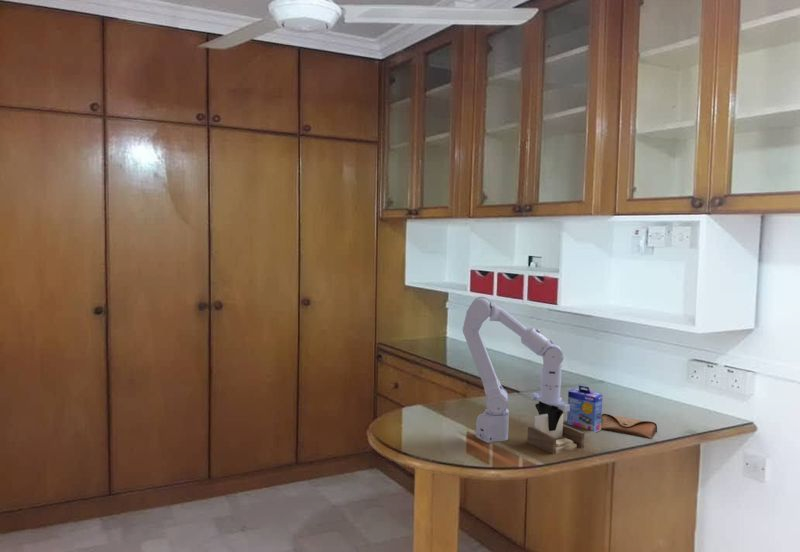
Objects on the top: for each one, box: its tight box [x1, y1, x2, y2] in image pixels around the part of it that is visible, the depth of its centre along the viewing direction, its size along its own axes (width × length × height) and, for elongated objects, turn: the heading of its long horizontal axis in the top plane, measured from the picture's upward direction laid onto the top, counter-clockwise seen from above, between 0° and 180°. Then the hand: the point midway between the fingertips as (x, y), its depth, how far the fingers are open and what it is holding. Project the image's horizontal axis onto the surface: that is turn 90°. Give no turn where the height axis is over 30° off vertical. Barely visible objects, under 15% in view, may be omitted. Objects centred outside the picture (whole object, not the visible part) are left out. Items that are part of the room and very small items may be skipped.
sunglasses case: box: [600, 413, 658, 440], centre depth 208 cm, size 18×7×7 cm, turn 62°
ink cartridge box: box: [566, 385, 603, 433], centre depth 208 cm, size 10×6×14 cm, turn 48°
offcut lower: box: [556, 443, 577, 452], centre depth 187 cm, size 8×4×1 cm, turn 119°
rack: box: [526, 423, 585, 455], centre depth 189 cm, size 12×11×6 cm
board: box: [533, 413, 565, 438], centre depth 191 cm, size 9×2×7 cm, turn 119°
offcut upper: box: [556, 438, 573, 447], centre depth 187 cm, size 6×3×1 cm, turn 119°
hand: (548, 428), depth 191 cm, fingers closed on board, 2 cm apart
